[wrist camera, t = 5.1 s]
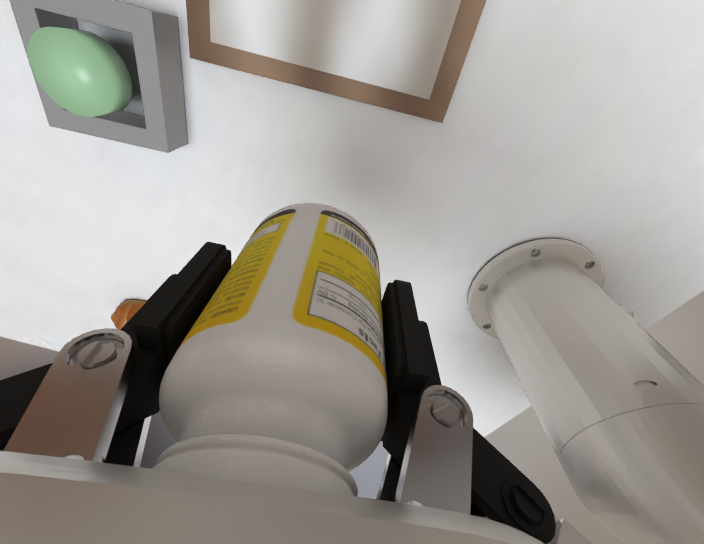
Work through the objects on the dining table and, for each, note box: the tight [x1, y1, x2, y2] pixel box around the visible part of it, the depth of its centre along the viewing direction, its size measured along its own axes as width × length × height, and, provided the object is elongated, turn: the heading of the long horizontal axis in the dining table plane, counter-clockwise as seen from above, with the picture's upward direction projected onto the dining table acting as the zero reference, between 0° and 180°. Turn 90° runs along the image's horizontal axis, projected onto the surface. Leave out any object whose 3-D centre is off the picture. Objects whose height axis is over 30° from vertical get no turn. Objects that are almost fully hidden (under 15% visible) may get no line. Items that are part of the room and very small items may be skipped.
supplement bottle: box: [152, 203, 388, 497], centre depth 9 cm, size 5×5×10 cm
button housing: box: [10, 0, 188, 153], centre depth 21 cm, size 8×8×3 cm
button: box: [27, 27, 132, 117], centre depth 19 cm, size 4×4×2 cm
